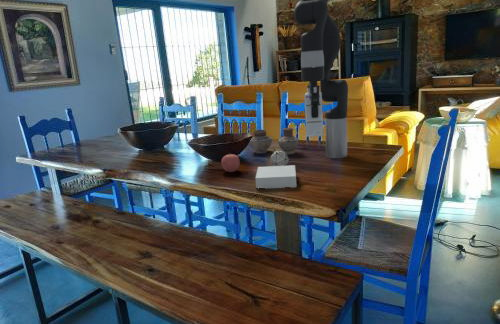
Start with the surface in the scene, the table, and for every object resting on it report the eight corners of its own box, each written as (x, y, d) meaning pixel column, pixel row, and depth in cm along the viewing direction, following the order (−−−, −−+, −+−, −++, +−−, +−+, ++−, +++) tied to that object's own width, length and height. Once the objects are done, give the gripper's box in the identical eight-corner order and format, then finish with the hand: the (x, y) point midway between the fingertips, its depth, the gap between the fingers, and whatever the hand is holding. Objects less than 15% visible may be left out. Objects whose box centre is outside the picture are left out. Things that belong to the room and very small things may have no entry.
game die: (276, 176, 153) (265, 156, 156) (294, 168, 153) (284, 147, 156) (274, 172, 145) (263, 150, 147) (293, 162, 144) (282, 141, 147)
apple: (233, 175, 147) (232, 155, 145) (219, 173, 151) (217, 154, 149) (243, 170, 153) (242, 151, 151) (229, 168, 157) (227, 150, 155)
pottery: (295, 156, 169) (294, 130, 166) (246, 154, 180) (244, 130, 177) (302, 150, 179) (301, 126, 176) (255, 149, 190) (253, 126, 187)
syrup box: (323, 136, 124) (322, 92, 121) (305, 137, 125) (304, 93, 122) (323, 133, 130) (322, 91, 126) (306, 133, 131) (304, 92, 127)
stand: (258, 176, 142) (258, 166, 141) (295, 175, 141) (294, 165, 140) (256, 188, 129) (255, 177, 128) (296, 187, 128) (295, 176, 127)
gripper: (299, 66, 129) (301, 114, 133) (302, 66, 115) (304, 120, 119) (321, 64, 128) (322, 112, 133) (326, 64, 114) (327, 118, 119)
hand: (314, 116), depth 126 cm, fingers closed on syrup box, 6 cm apart
